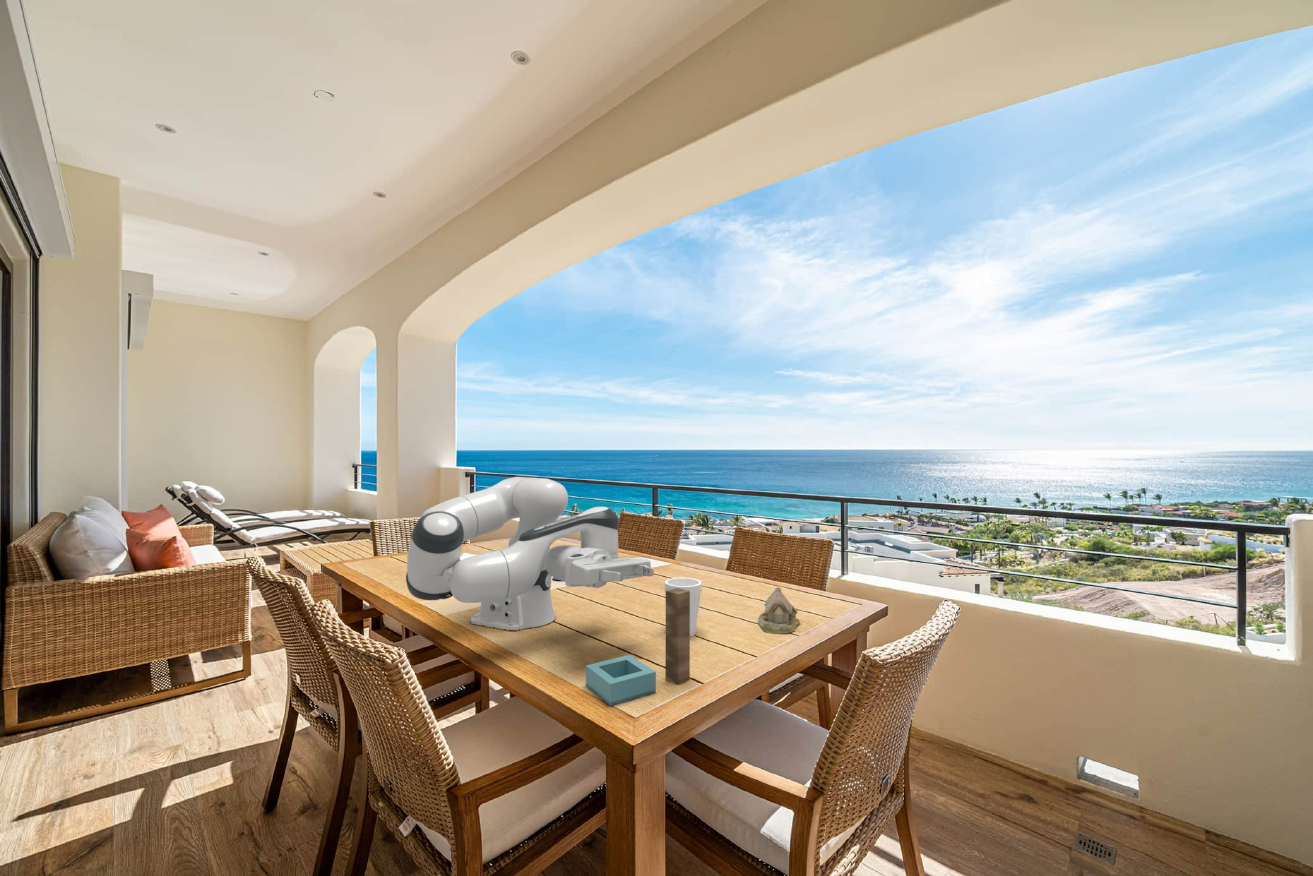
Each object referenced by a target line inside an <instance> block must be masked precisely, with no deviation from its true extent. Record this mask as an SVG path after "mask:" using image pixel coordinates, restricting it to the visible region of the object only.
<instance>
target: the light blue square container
mask: <svg viewBox="0 0 1313 876" xmlns="http://www.w3.org/2000/svg"><path fill="white" fill-rule="evenodd" d="M656 680H657V672H656V670H654V669H652V667H649V666H647V665H646V664H645V663H643V662H641V661H640V660H638V659H636V658H635V657H633V656H632V655H631V654H628V655H624V656H619V657H616V658H611V659H606V660H603V661H600V662H595V663H591V664H588V665H586V666H585V687H587V688H588V689H589V690H590V691H591V692H592V693H594V694H595V695H596V696H597V697H599V698H600V699H601V700H602V701H603V702H604V703H606V704H607V706H609V707H613V706H615V705H619V704H623V703H626V702H629V701H633V700H636V699H639V698H643V697H646V696H649V695H652V694H656V693H657V686H656V685H657V683H656V682H657V681H656Z"/></svg>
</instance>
